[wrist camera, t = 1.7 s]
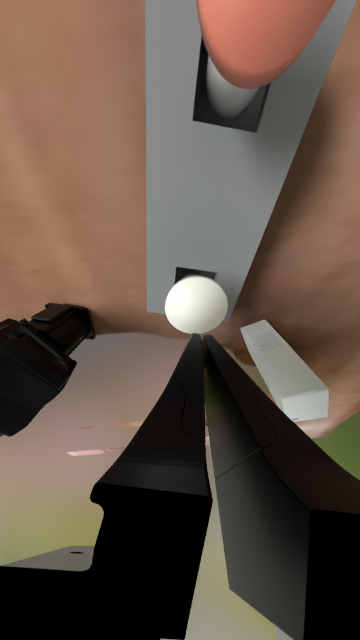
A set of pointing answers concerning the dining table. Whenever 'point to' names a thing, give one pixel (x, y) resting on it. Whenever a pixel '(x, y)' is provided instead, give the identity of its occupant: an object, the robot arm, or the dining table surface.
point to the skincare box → (286, 374)
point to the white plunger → (196, 304)
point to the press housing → (217, 151)
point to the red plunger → (253, 45)
